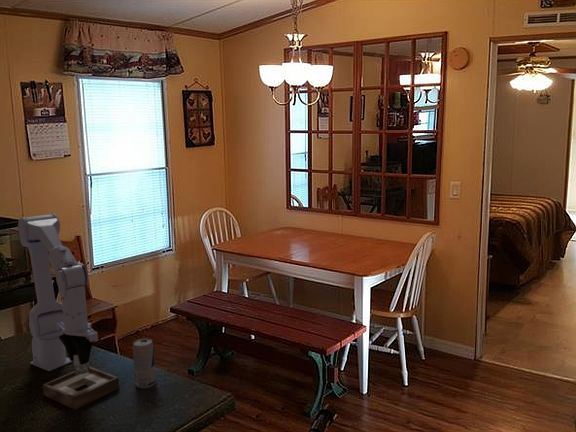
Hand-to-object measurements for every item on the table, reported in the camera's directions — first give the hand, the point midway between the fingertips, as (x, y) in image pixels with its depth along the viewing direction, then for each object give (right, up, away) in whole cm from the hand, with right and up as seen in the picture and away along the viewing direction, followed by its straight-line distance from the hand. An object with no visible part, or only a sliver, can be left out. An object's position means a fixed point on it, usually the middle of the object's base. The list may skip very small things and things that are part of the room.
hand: (79, 361), depth 147 cm
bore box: (0, -8, +1) cm, 8 cm away
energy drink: (+16, -8, +5) cm, 18 cm away
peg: (0, -3, +1) cm, 3 cm away
